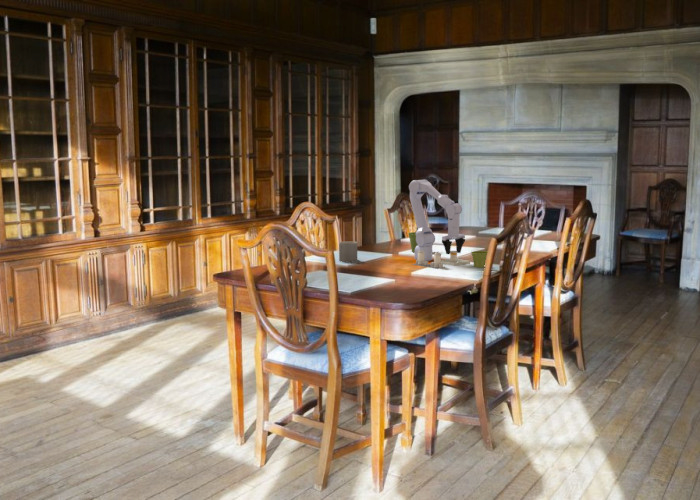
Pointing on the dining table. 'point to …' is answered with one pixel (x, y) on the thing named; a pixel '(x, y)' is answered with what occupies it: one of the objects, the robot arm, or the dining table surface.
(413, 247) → the plant pot
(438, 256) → the fuse right
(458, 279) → the dining table surface
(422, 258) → the fuse left
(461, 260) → the tray
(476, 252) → the plant pot
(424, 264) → the fuse holder
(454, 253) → the cylinder
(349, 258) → the grey block
